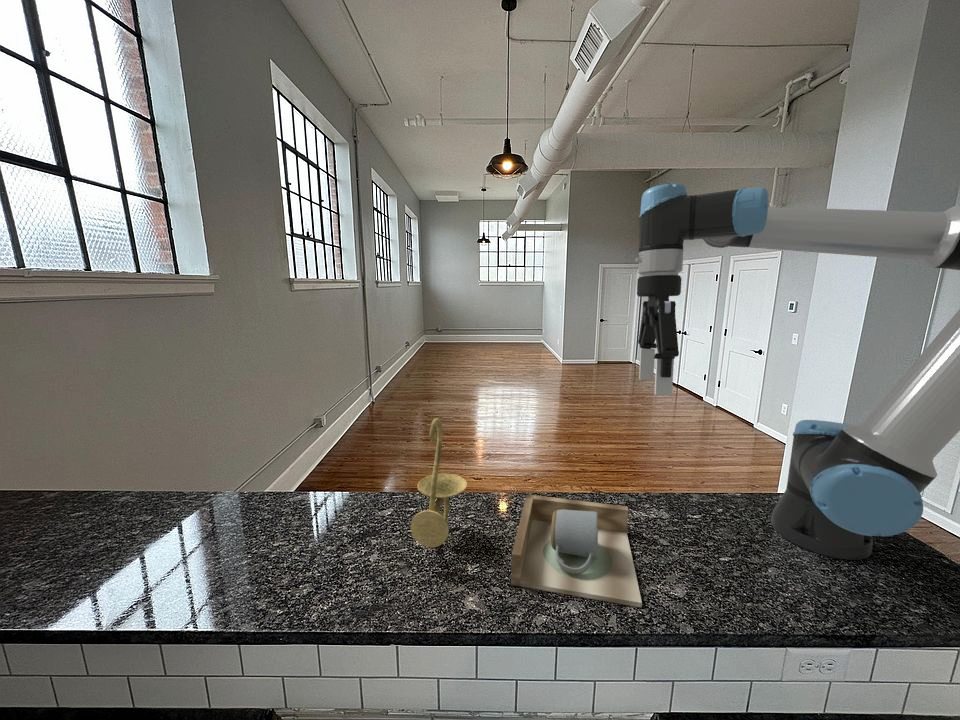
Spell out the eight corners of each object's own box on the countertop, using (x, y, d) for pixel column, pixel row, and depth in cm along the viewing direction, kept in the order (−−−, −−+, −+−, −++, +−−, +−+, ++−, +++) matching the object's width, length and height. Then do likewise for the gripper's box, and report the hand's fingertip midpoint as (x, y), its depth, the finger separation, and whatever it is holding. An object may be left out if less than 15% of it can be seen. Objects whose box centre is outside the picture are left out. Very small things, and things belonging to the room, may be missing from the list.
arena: (625, 532, 79) (627, 506, 78) (641, 607, 60) (644, 575, 59) (525, 518, 84) (526, 494, 83) (510, 584, 64) (511, 554, 64)
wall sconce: (456, 569, 68) (456, 430, 64) (403, 563, 69) (400, 426, 65) (470, 523, 82) (471, 406, 78) (426, 519, 83) (424, 404, 79)
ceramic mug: (553, 535, 76) (554, 498, 75) (597, 542, 74) (599, 504, 73) (547, 572, 66) (548, 530, 65) (598, 581, 64) (600, 539, 63)
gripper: (626, 279, 86) (623, 374, 90) (653, 271, 62) (647, 402, 65) (663, 278, 85) (658, 374, 88) (705, 269, 61) (697, 403, 64)
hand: (653, 386), depth 77 cm, fingers open, 13 cm apart
